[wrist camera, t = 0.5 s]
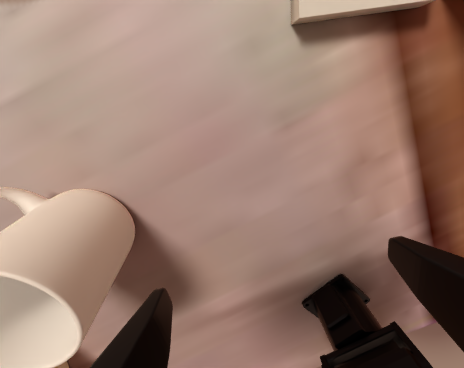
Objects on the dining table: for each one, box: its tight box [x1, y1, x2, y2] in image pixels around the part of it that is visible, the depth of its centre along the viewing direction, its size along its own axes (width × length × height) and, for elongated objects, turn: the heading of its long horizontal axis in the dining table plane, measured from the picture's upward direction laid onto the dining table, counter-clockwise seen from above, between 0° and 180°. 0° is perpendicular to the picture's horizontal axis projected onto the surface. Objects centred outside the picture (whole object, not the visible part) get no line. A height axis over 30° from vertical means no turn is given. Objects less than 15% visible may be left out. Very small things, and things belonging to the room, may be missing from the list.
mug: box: [0, 187, 135, 368], centre depth 17 cm, size 9×12×11 cm
